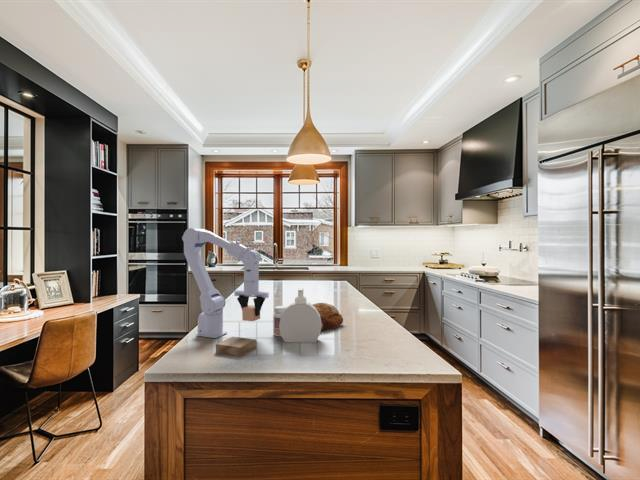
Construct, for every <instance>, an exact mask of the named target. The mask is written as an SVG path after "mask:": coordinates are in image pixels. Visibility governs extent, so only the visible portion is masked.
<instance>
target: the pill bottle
mask: <svg viewBox="0 0 640 480" xmlns="http://www.w3.org/2000/svg"><path fill="white" fill-rule="evenodd" d="M286 307H287V306H286V305H278V306H277V305H276V306H274V312H275V313H273V335H274V336H275V337H282V336H281V334H280V328H279V323H280V318H281V315H282V314H283V312H284V310H285V309H286Z"/></svg>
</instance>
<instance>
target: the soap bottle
mask: <svg viewBox="0 0 640 480" xmlns="http://www.w3.org/2000/svg"><path fill="white" fill-rule="evenodd" d="M279 328H280V334H281V336H280V337H281V338H282V340H283V341H284V343H298V342H304V343H305V342H307V344H308V343H309V344H311V343H313V344H315V343H317V340H318V339H319V337H320V335H321V318H320V314H319V312H318V311H317V309H316V307H314V306H313V304H311V303H310V302H307V298H306V297H305V296H304V288H297V296H296V297H295V298H294V301H293V302H291V303H290V304H288V306H287V307H286V309H285V310H284V312H283V314H282V315H281V318H280V323H279Z"/></svg>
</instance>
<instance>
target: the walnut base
mask: <svg viewBox="0 0 640 480" xmlns="http://www.w3.org/2000/svg"><path fill="white" fill-rule="evenodd" d="M255 349H257V339H255V338H246V337H239V336H230V337H229V338H226V339H225V340H222V341H220V342H216V343H215V354H223V355H228V356H230V355H231V356H235V357H242V356H244V355H245V354H247V353H250V352H251V351H253V350H255Z"/></svg>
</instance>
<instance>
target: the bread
mask: <svg viewBox="0 0 640 480" xmlns="http://www.w3.org/2000/svg"><path fill="white" fill-rule="evenodd" d="M312 305H313V306H314V307H316V309H317V311H318V312H319V314H320V318H321V331H323V332H324V331H325V332H326V331H329V330H333V329H336V328H338V327H339V326H340V325H343V322H344V318H343V315H342V314H341V313H340V312H339V310H338V308H336V307H335V305H333V304H329V303H326V302H317V303H316V302H315V303H313V304H312ZM321 331H320V332H321Z"/></svg>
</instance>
